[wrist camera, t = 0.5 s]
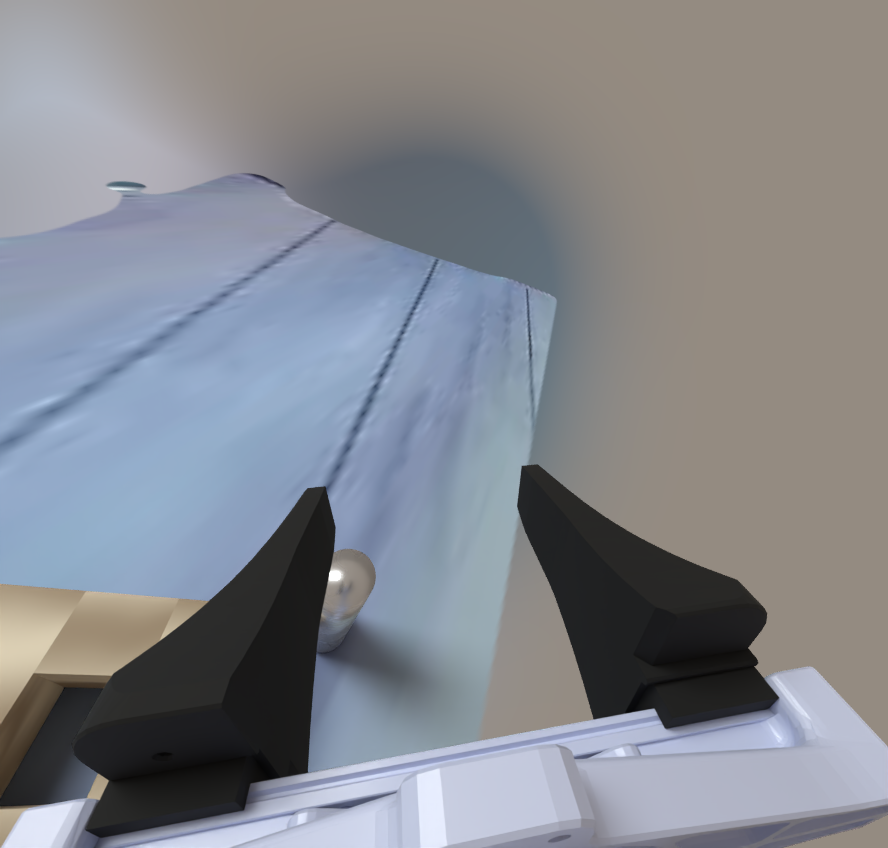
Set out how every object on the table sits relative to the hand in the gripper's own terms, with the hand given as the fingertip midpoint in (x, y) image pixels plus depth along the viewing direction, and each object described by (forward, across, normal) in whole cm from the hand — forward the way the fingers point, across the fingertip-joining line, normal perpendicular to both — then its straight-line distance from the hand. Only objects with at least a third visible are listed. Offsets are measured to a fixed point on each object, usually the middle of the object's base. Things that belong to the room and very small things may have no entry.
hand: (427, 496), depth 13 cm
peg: (+6, +8, +17) cm, 19 cm away
